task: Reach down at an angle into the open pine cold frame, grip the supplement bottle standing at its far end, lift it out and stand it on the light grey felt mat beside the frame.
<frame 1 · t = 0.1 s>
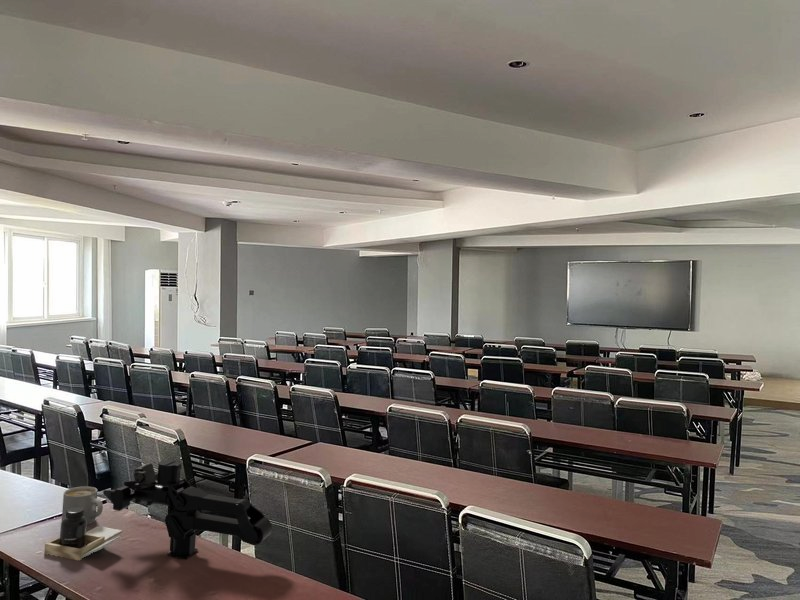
hand: (114, 487, 180), 17 cm above the table, tool horizontal, fingers open, 9 cm apart
cold frame: (74, 550, 172), on the table
supplement bottle: (71, 550, 172), resting in cold frame
felt mat: (100, 534, 184), on the table
coffee mug: (82, 522, 192), on the table
frame lid: (100, 555, 170), on the table
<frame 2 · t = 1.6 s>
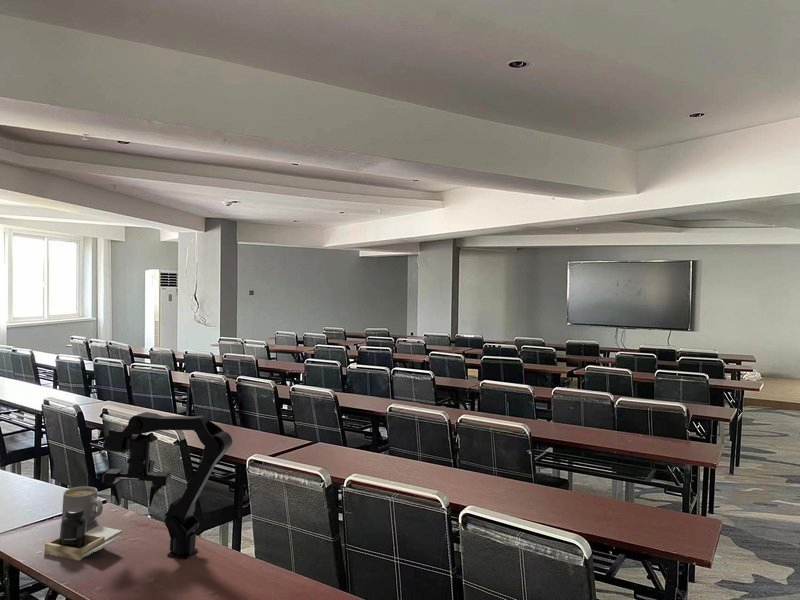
hand: (135, 505, 176), 13 cm above the table, tool pointing down, fingers open, 9 cm apart
nothing on the table moved.
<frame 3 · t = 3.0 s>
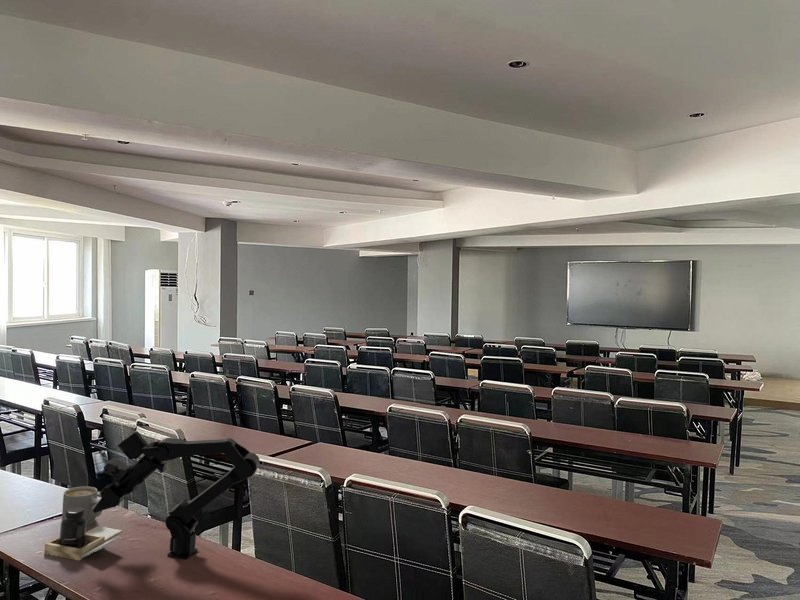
hand: (100, 505, 173), 13 cm above the table, tool tilted 45°, fingers open, 9 cm apart
nothing on the table moved.
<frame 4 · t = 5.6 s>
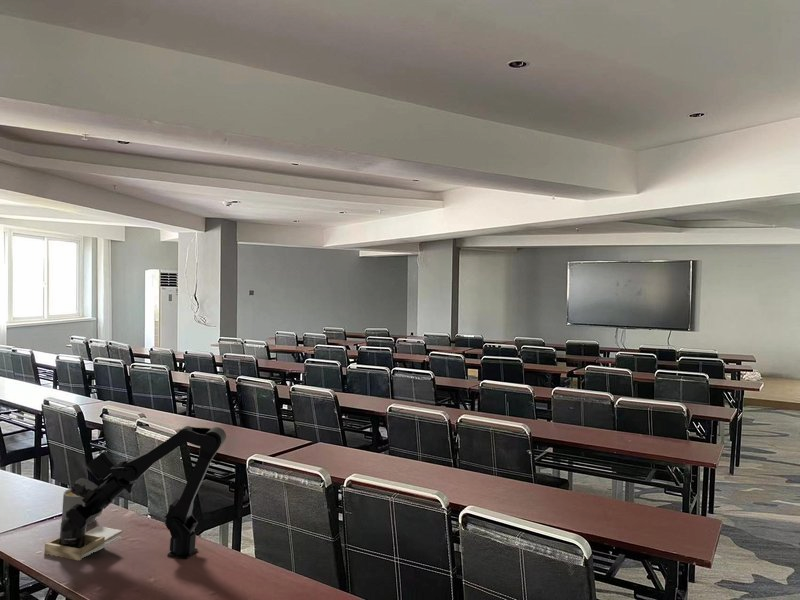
hand: (68, 525, 172), 7 cm above the table, tool tilted 45°, fingers closed on supplement bottle, 7 cm apart
supplement bottle: (71, 550, 172), resting in cold frame, touching gripper
everything else where it was.
when the fingers open (8 cm above the table, at t = 8.9 s): supplement bottle stays where it is, resting on felt mat.
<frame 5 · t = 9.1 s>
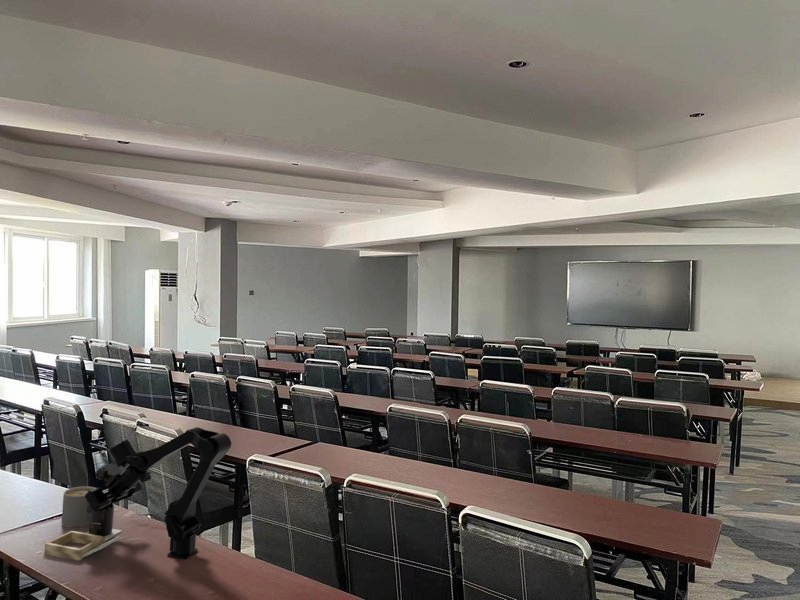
hand: (98, 507, 184), 9 cm above the table, tool tilted 45°, fingers open, 8 cm apart
supplement bottle: (100, 534, 184), resting on felt mat
everything else where it was.
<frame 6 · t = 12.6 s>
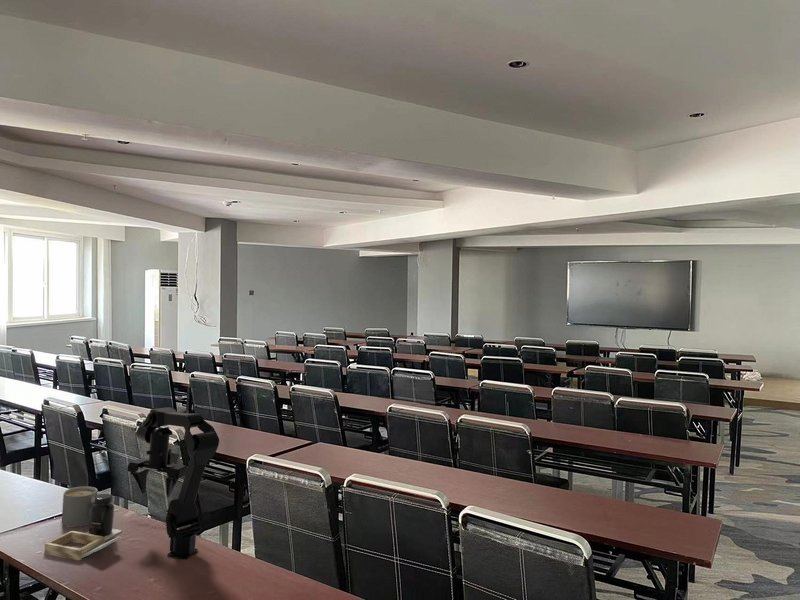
hand: (156, 494, 186), 13 cm above the table, tool pointing down, fingers open, 9 cm apart
nothing on the table moved.
at the end: supplement bottle inside the target area (0.2 cm from its centre), resting on felt mat; supplement bottle tilted 0°; the gripper is holding nothing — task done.
